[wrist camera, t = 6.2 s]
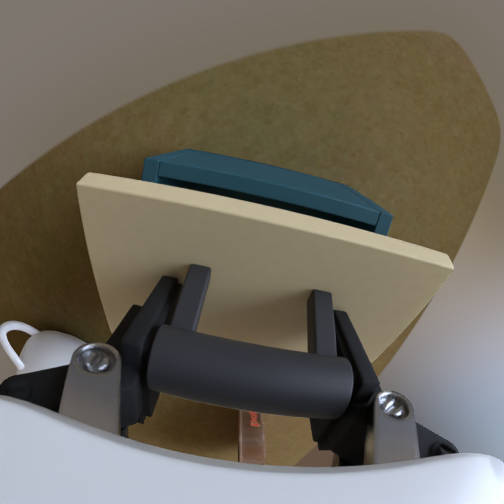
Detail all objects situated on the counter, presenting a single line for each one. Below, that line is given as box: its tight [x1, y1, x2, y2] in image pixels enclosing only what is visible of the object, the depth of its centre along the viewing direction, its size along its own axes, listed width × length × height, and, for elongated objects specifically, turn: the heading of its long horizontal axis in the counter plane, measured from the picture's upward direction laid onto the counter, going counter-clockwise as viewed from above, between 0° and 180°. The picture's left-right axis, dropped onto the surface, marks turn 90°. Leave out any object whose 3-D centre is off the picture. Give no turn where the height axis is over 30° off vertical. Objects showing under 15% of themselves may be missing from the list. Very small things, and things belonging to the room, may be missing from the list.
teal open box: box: [142, 149, 393, 236], centre depth 20 cm, size 15×13×9 cm
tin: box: [238, 410, 265, 465], centre depth 29 cm, size 15×3×8 cm, turn 178°
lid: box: [76, 172, 454, 419], centre depth 12 cm, size 15×13×5 cm
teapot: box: [0, 321, 86, 375], centre depth 26 cm, size 22×14×11 cm, turn 25°
